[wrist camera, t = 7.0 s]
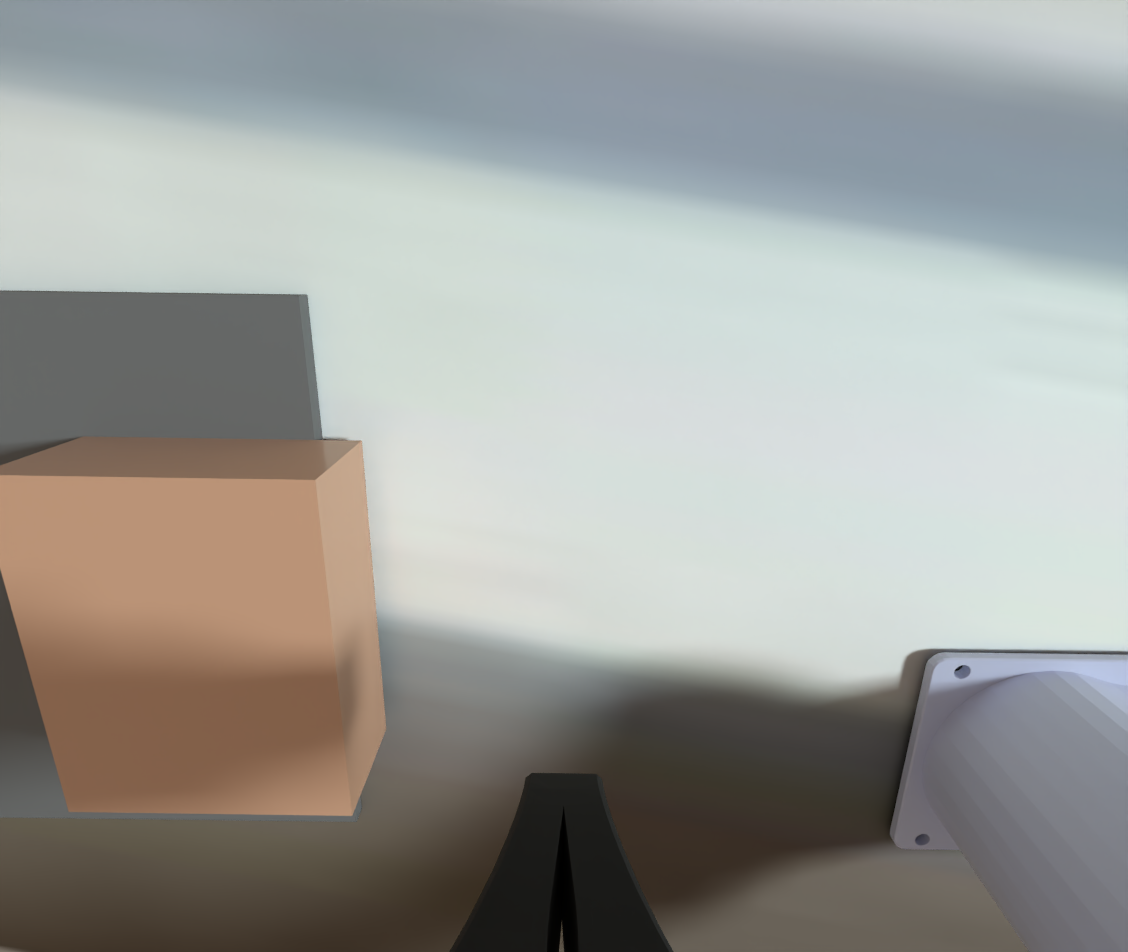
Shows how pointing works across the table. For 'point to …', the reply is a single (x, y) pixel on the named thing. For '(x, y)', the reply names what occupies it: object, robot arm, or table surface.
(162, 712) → the terracotta block
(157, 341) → the mat
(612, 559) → the table surface
